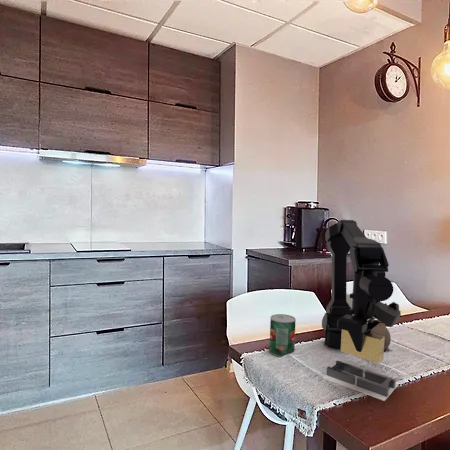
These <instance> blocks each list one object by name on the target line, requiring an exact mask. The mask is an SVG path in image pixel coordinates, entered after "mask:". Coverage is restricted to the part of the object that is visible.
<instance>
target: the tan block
mask: <svg viewBox="0 0 450 450" xmlns="http://www.w3.org/2000/svg"><path fill="white" fill-rule="evenodd" d="M384 338H385V337H384V336H380V335H376V334H373V333H369V332H366V333H365V337H364V342H363V347H362V351H361V352H358V351H357V350H356V348H355V346H354V343H353V341H352V339H351V337H350V334H349V332H348V331H346V330H343V329H342V334H341V350H340V352H341V353H345V354H347V355H351V356H355V357H357V358H361V359H364V360H368V361H371V362H374V363H377V364H380V363H381V362H383V361H384V355H385V353H384V352H385V350H384Z"/></svg>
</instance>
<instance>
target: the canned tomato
mask: <svg viewBox="0 0 450 450" xmlns="http://www.w3.org/2000/svg"><path fill="white" fill-rule="evenodd" d="M296 321H297V319H296V317H294V316H292V315H290V314H282V313H281V314H280V313H278V314H276V313H275V314H272V315H270V322H269V324H270V327H269V351H268V352H269V354H271V355H272V356H275V357H279V358H283V357H285V356H286V355H289V354H292V353H294V352H295V347H296V346H295V345H296V344H295V343H296Z"/></svg>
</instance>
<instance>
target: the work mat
mask: <svg viewBox="0 0 450 450" xmlns="http://www.w3.org/2000/svg"><path fill="white" fill-rule="evenodd" d="M343 372H344V371H343ZM345 373H347V372H345ZM348 374H350V373H348ZM351 375H353V374H351ZM354 376H355V384H354V385H352V384H350V383H347V382H344V381H341V380H339V379H336V378H333V377H330V376H328V375H326V374H325V375H323V376H322V377H321V378H322V379H324V380H327V381H330V382H332V383H335V384H337V385H340V386H343V387H345V388H347V389H351V390H353V391H357V392H360V393H361V394H365V395H367V396H370V397H372V398H376V399H378V400H380V401H384V402H386V400H387V399H388V398H389V396H390V395H391V394H392V393H393V392H394V390H396V389H397V387H398V386H399V385H400V384H399V383H396V384H395V388H390V389H389V390H388V396H387V397H385V396H383V395H380V394H377V393H374V392H372V391H369V390H366V389H363V388H361V387H358V386H357V378H358V377H359V376H356V375H354ZM360 378H363V379H365V372H363V377H360ZM366 380H367V379H366ZM369 381H370V380H369ZM371 382H373V381H371ZM374 383H376V382H374ZM377 384H379V383H377ZM380 385H381V384H380Z"/></svg>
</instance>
